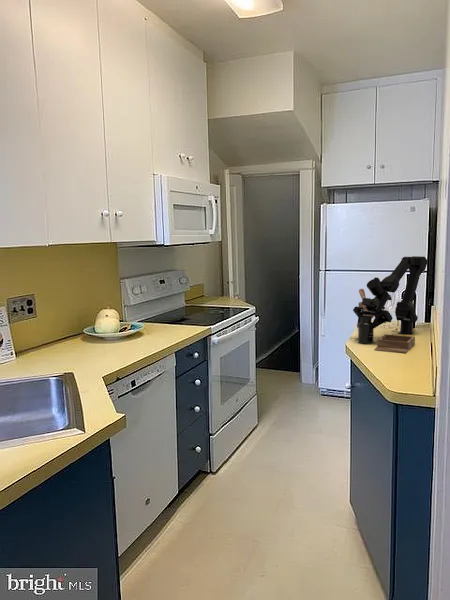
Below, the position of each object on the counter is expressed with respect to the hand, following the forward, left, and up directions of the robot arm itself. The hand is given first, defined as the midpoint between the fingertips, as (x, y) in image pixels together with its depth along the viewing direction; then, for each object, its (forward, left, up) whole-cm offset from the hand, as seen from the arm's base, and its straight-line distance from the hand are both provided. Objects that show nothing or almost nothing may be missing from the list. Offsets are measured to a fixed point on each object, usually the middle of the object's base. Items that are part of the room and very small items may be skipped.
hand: (363, 328), depth 220 cm
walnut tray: (+2, +15, -7) cm, 16 cm away
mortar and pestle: (-39, -11, -7) cm, 41 cm away
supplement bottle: (-1, +1, -7) cm, 7 cm away
